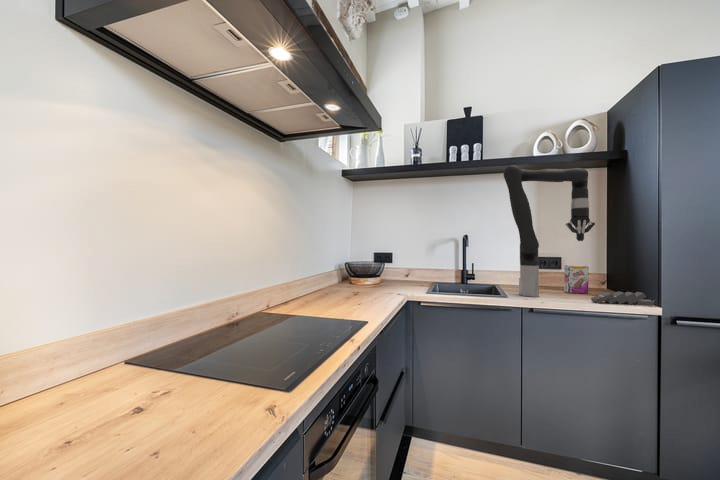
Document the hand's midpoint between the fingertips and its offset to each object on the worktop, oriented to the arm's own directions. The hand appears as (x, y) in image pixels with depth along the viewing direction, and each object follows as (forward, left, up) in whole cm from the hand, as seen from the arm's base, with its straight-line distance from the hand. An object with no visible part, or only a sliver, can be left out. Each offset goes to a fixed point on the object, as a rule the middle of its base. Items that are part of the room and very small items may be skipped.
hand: (580, 240), depth 151 cm
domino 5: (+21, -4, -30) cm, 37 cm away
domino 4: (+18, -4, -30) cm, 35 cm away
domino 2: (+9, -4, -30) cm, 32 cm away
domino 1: (+4, -4, -30) cm, 31 cm away
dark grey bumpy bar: (+13, -4, -30) cm, 33 cm away
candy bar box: (+9, +26, -31) cm, 42 cm away
